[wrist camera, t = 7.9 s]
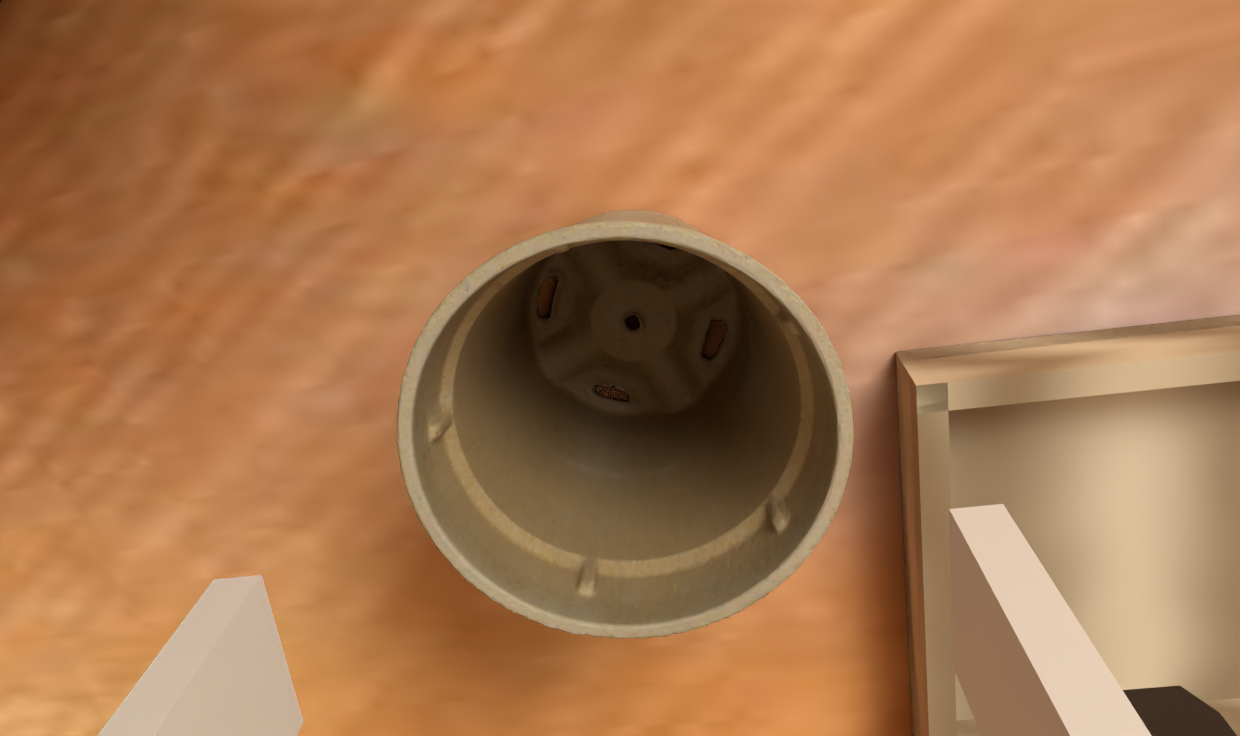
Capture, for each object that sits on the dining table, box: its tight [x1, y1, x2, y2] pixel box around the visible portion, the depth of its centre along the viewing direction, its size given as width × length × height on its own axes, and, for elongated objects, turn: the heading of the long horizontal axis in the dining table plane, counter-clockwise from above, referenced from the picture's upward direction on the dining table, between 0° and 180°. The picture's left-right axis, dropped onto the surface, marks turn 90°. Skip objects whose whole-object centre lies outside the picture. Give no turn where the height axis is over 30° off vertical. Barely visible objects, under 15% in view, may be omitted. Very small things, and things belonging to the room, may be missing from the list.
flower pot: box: [397, 210, 854, 638], centre depth 26 cm, size 9×9×9 cm
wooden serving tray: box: [896, 315, 1240, 736], centre depth 32 cm, size 18×25×3 cm
